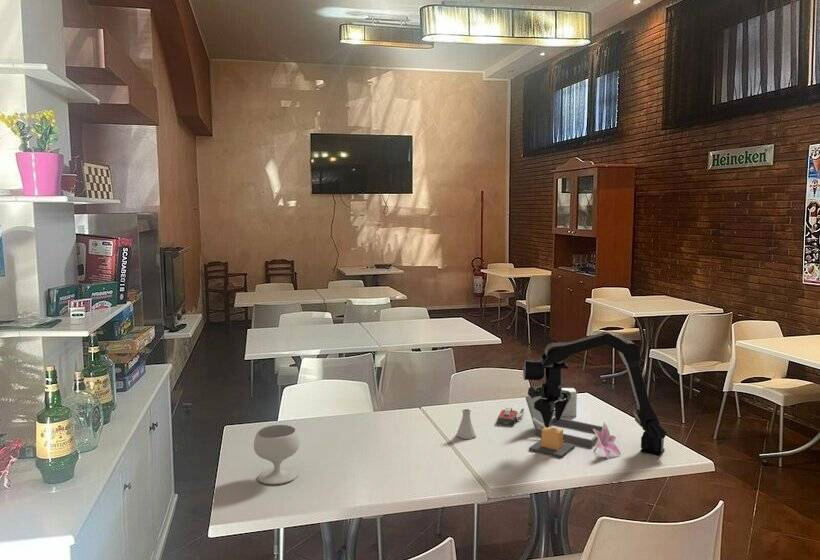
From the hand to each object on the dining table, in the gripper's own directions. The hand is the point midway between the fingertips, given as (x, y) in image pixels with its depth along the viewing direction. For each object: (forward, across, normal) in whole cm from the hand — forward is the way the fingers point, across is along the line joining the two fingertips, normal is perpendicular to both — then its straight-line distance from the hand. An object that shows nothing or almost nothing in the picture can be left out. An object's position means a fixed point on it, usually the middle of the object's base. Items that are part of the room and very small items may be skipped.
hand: (552, 423), depth 211 cm
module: (+8, 0, 0) cm, 8 cm away
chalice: (+10, +73, -60) cm, 95 cm away
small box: (+9, -39, -11) cm, 42 cm away
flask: (+10, +7, -31) cm, 33 cm away
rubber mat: (+9, 0, 0) cm, 9 cm away
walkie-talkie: (+10, -21, -27) cm, 35 cm away
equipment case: (+9, -18, -2) cm, 20 cm away
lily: (+9, -6, +17) cm, 20 cm away
